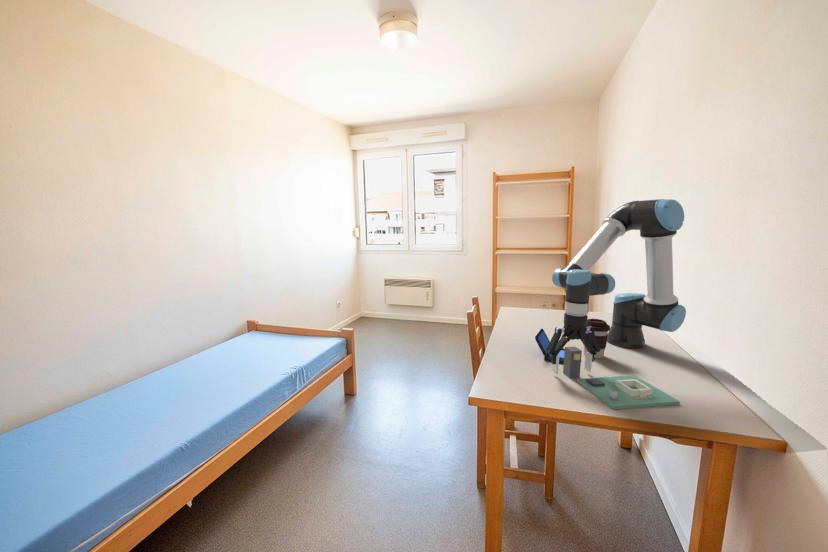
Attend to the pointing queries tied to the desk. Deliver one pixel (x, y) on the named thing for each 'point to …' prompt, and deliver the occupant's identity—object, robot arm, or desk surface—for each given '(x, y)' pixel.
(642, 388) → the header
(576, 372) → the plug
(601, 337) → the coffee cup
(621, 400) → the board
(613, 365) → the desk surface
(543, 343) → the handheld game console
